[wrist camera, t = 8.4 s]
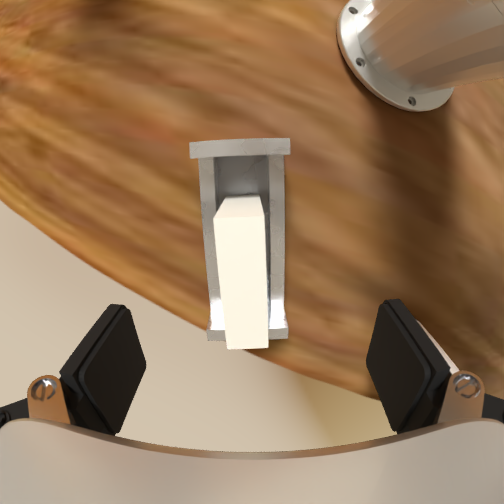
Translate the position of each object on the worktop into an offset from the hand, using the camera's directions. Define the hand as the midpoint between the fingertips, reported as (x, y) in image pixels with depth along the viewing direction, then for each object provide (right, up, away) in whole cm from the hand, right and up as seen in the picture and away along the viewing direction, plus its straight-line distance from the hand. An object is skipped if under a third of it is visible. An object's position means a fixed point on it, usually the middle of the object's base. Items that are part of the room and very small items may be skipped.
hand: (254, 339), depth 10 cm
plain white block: (-1, +4, +13) cm, 13 cm away
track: (-1, +5, +13) cm, 14 cm away
